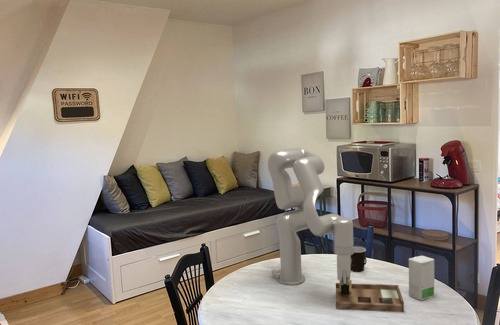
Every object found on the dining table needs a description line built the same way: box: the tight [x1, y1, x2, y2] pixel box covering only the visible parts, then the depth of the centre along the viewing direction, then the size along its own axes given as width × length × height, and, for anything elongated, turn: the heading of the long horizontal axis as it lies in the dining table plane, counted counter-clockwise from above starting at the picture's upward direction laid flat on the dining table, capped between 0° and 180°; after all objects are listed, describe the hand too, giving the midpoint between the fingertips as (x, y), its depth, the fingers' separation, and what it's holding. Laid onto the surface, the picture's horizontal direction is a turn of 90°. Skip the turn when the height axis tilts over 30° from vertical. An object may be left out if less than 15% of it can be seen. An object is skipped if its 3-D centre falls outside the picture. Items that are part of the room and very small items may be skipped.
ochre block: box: [338, 279, 353, 292], centre depth 172 cm, size 4×4×4 cm
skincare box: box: [408, 255, 435, 301], centre depth 170 cm, size 8×7×16 cm
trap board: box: [335, 282, 405, 313], centre depth 168 cm, size 25×15×4 cm, turn 78°
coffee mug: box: [351, 246, 367, 273], centre depth 200 cm, size 12×9×10 cm
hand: (345, 293), depth 168 cm, fingers closed
